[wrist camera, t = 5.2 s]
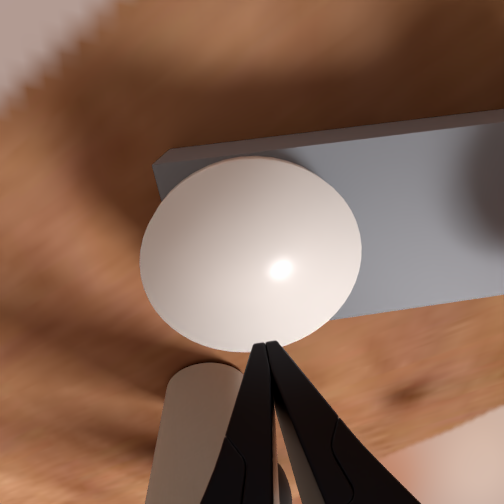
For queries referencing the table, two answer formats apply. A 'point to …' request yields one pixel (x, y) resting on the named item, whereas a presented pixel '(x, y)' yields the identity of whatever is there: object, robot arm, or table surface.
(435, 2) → the table surface
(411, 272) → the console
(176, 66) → the table surface
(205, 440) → the travel mug
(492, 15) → the table surface
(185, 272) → the ivory plug
